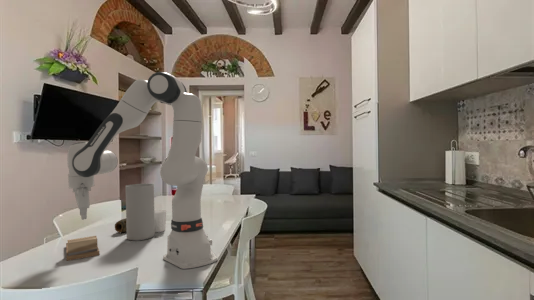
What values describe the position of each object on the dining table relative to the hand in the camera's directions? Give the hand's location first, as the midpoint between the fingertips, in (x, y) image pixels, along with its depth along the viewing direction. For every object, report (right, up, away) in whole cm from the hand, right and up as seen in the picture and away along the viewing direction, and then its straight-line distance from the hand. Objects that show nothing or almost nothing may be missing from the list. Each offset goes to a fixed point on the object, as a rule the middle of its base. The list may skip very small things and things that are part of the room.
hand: (83, 217), depth 121 cm
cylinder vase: (+13, -15, +24) cm, 31 cm away
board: (-4, -15, +6) cm, 17 cm away
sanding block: (0, -14, 0) cm, 14 cm away
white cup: (+17, -15, +36) cm, 42 cm away
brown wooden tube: (+1, -16, +38) cm, 41 cm away
